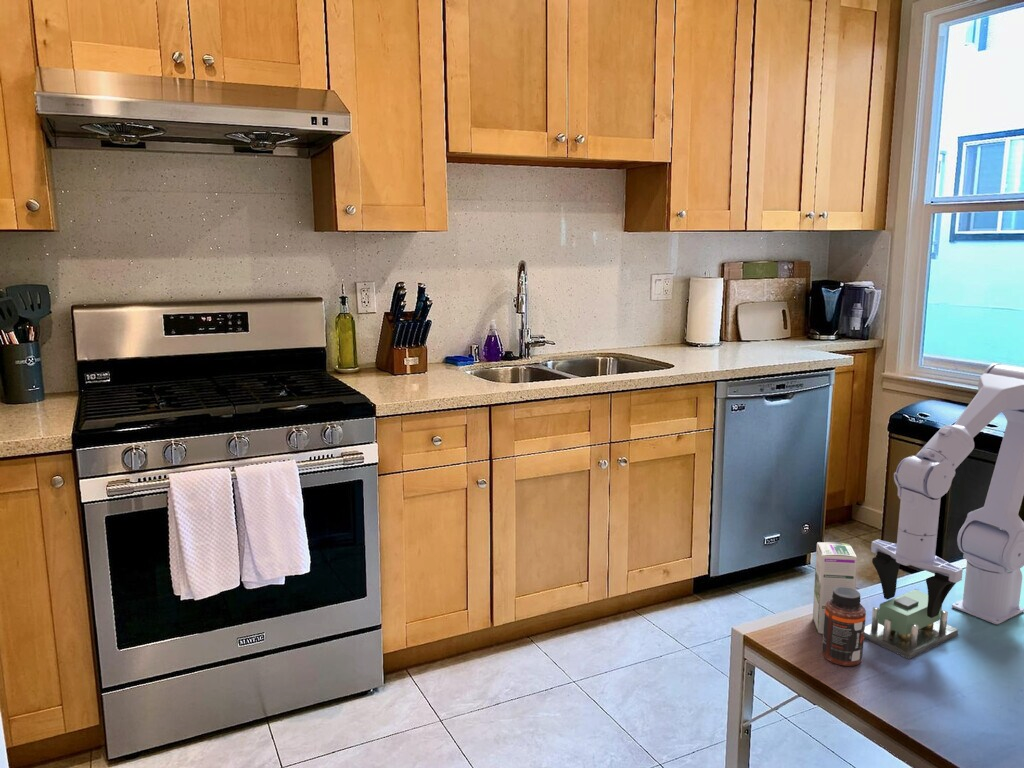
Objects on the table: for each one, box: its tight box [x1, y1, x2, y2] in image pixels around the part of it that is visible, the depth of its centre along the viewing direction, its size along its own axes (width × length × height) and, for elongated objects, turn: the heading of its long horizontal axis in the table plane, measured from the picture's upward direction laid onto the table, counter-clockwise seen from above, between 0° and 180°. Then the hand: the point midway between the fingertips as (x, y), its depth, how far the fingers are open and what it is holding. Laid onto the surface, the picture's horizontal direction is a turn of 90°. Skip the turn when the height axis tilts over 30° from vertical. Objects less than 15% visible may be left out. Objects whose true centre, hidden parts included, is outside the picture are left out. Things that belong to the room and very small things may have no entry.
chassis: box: [864, 606, 959, 660], centre depth 130 cm, size 14×9×4 cm, turn 122°
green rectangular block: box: [878, 588, 943, 636], centre depth 129 cm, size 10×5×4 cm, turn 121°
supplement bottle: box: [822, 587, 867, 667], centre depth 123 cm, size 6×6×11 cm
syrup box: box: [812, 541, 858, 635], centre depth 132 cm, size 6×6×14 cm
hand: (910, 606), depth 129 cm, fingers open, 7 cm apart
